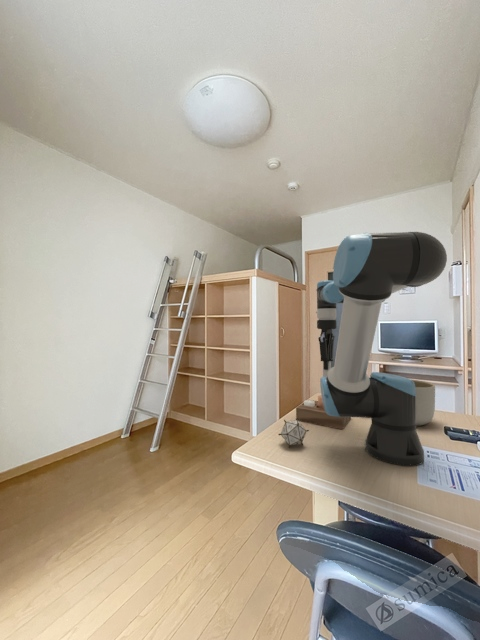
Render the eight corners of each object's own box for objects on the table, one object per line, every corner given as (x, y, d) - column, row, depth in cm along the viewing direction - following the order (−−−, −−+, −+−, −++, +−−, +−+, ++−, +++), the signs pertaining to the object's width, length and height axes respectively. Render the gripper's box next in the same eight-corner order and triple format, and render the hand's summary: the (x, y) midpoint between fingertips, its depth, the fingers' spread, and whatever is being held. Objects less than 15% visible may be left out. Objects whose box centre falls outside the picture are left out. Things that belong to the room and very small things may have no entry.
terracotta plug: (327, 412, 107) (327, 398, 107) (316, 411, 110) (316, 397, 110) (330, 410, 111) (330, 396, 111) (320, 408, 113) (319, 394, 114)
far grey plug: (312, 417, 111) (312, 403, 111) (302, 415, 113) (302, 401, 113) (316, 414, 114) (316, 401, 114) (306, 412, 117) (306, 399, 117)
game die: (294, 454, 89) (302, 424, 94) (308, 455, 81) (316, 422, 86) (270, 442, 88) (280, 412, 92) (283, 442, 80) (292, 410, 85)
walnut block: (342, 429, 100) (342, 415, 100) (296, 420, 109) (296, 407, 110) (350, 418, 111) (350, 406, 111) (308, 410, 121) (308, 399, 121)
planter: (392, 427, 101) (391, 386, 102) (380, 413, 118) (379, 377, 118) (444, 431, 97) (443, 388, 98) (424, 415, 114) (424, 379, 114)
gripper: (322, 319, 118) (323, 373, 118) (311, 319, 107) (312, 379, 108) (340, 319, 114) (340, 375, 114) (330, 319, 103) (331, 381, 103)
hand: (326, 377), depth 111 cm, fingers closed
